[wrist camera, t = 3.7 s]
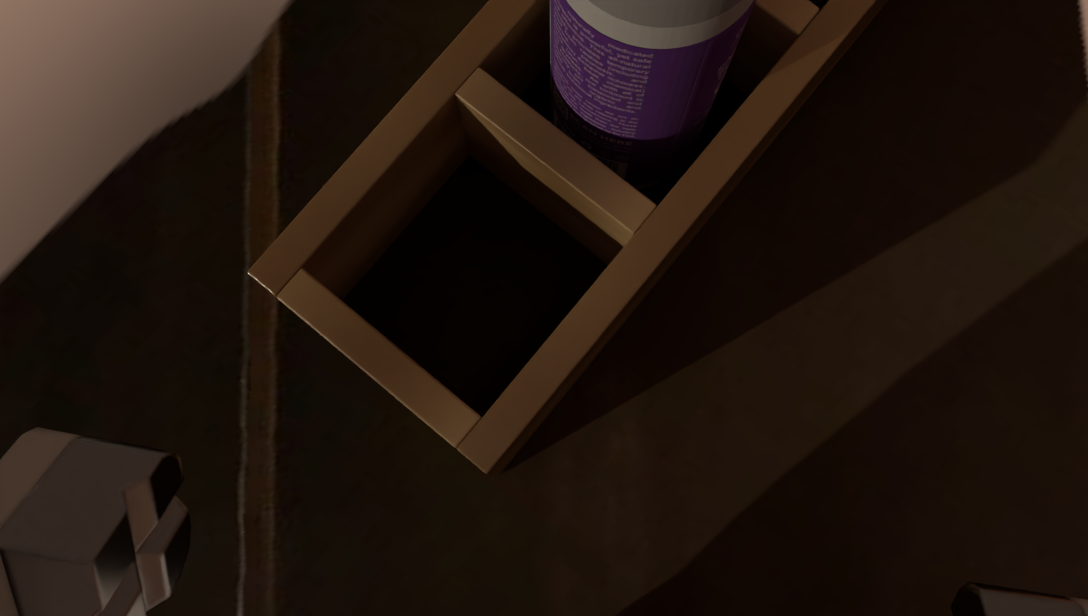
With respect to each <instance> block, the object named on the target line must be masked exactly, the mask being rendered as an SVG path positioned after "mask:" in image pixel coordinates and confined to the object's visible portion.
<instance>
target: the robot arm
mask: <svg viewBox="0 0 1088 616" xmlns="http://www.w3.org/2000/svg"><path fill="white" fill-rule="evenodd" d="M183 481H184V475H183V470H182V465H181V459H180V456H179V455H177V454H175V453H173V452H170V451H165V450H159V449H154V448H149V447H144V446H138V445H133V444H128V443H122V442H117V441H112V440H107V439H101V438H96V437H91V436H86V435H82V436H81V435H75V434H70V433H65V432H60V431H54V430H49V429H44V428H39V427H37V428H34V429H32V430H30V431H28V432H26V433H24V434H23V435H21V436H20V437H19V438H18V440H17V441H16V442H15V443H14V444H13V445H12V446H11V448H10V449H9V450H8V451H7V452H6V453H5V455H4V456H3V457H2V458H1V459H0V616H147V613H146V611H147V610H149V609H151V608H152V607H154V606H156V605H157V604H159V603H160V602H162V601H164V600H165V599H167V598H169V597H170V595H171V593H172V591H173V589H174V587H175V586H176V584H177V582H178V580H179V578H180V576H181V574H182V571H183V567H184V564H185V561H186V558H187V554H188V551H189V547H190V534H191V523H190V515H189V510H188V509H187V508H186V506H185V505H184V504H183V503H182V502H181V501H180V500H179V499H178V498H177V497H176V496H175V494H176V492H177V491H178V489H179V487H180V486H181V484H182V483H183ZM951 610H952V614H953V616H1088V600H1085V599H1079V598H1067V597H1065V596H1060V595H1053V594H1047V593H1040V592H1034V591H1027V590H1021V589H1014V588H1008V587H1001V586H995V585H988V584H982V583H975V582H967V583H966V584H965V585H964V586H962V587H961V588H960V589H959V590H958V592H957V594H956V596H955V598H954V600H953V602H952V604H951Z"/></svg>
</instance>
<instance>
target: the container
mask: <svg viewBox="0 0 1088 616" xmlns="http://www.w3.org/2000/svg"><path fill="white" fill-rule="evenodd" d="M755 1H756V0H550V86H551V123H552V124H553V125H555V126H556V127H557V128H558V129H560V130H561V131H562V132H564V133H565V134H566V135H567V136H569V137H570V138H571V139H573V140H574V141H575V142H576V143H578V144H579V145H580V146H581V147H583V148H584V149H585V150H587V151H588V152H589V153H590V154H592V155H593V156H594V157H596V158H597V159H598V160H599V161H601V162H602V163H603V164H605V165H606V166H607V167H608V168H610V169H611V170H612V171H614V172H615V173H616V174H617V175H619V176H620V177H621V178H623V179H624V180H625V181H626V182H628V183H629V184H630V185H632V186H633V187H634V188H635V189H637V190H638V189H643V188H647V187H651V186H653V185H656V184H658V183H660V182H662V181H664V180H666V179H667V178H669V177H670V176H672V175H673V174H674V173H676V172H677V171H678V170H679V169H680V168H681V167H682V166H683V164H684V163H685V162H686V161H687V159H688V158H689V156H690V155H691V153H692V151H693V149H694V147H695V145H696V143H697V141H698V138H699V136H700V133H701V131H702V128H703V126H704V124H705V121H706V119H707V116H708V114H709V112H710V109H711V107H712V104H713V102H714V100H715V97H716V95H717V92H718V90H719V88H720V85H721V83H722V80H723V78H724V76H725V73H726V71H727V68H728V66H729V64H730V61H731V59H732V56H733V54H734V52H735V49H736V47H737V44H738V42H739V40H740V37H741V35H742V32H743V30H744V28H745V25H746V23H747V20H748V18H749V16H750V13H751V11H752V8H753V6H754V4H755Z"/></svg>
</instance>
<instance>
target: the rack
mask: <svg viewBox="0 0 1088 616" xmlns="http://www.w3.org/2000/svg"><path fill="white" fill-rule="evenodd" d="M887 1H888V0H828V1H827V3H826V4H825V5H824V6H823V7H822V9H821V10H820V11H819V8H818V7H817V6H816V5H814V4H813V3H812V2H810V1H809V0H756V1H755V4H754V6H753V8H752V11H751V13H750V16H749V18H748V20H747V23H746V25H745V28H744V30H743V32H742V35H741V37H740V40H739V42H738V44H737V47H736V49H735V52H734V54H733V56H732V59H731V61H730V64H729V66H728V68H727V71H726V73H725V76H724V78H725V79H726V80H728V81H729V82H730V83H732V84H733V85H734V86H736V87H737V88H738V89H740V90H741V91H742V92H744V93H745V94H746V95H748V96H749V97H748V98H747V99H746V100H745V101H744V103H743V104H742V105H741V106H740V107H739V109H738V110H737V111H736V112H735V113H734V115H733V116H732V117H731V118H730V119H729V121H728V122H727V123H726V124H725V125H724V127H723V128H722V129H721V130H720V131H719V133H718V134H717V135H716V136H715V137H714V139H713V140H712V141H711V142H710V144H709V145H708V146H707V147H706V148H705V150H704V151H703V152H702V153H701V154H700V156H699V157H698V158H697V159H696V160H695V162H694V163H693V164H692V165H691V166H690V168H689V169H688V170H687V171H686V172H685V174H684V175H683V176H682V177H681V178H680V180H679V181H678V182H677V183H676V184H675V186H674V187H673V188H672V189H671V191H670V192H669V193H668V194H667V195H666V197H665V198H664V199H663V200H662V201H661V203H660V204H659V205H658V206H656V204H655V203H653V202H652V201H651V200H650V199H648V198H647V197H646V196H644V195H643V194H642V193H641V192H639V191H638V190H637V189H635V188H634V187H633V186H632V185H630V184H629V183H628V182H626V181H625V180H624V179H623V178H621V177H620V176H619V175H617V174H616V173H615V172H614V171H612V170H611V169H610V168H608V167H607V166H606V165H605V164H603V163H602V162H601V161H599V160H598V159H597V158H596V157H594V156H593V155H592V154H590V153H589V152H588V151H587V150H585V149H584V148H583V147H581V146H580V145H579V144H578V143H576V142H575V141H574V140H573V139H571V138H570V137H569V136H567V135H566V134H565V133H564V132H562V131H561V130H560V129H558V128H557V127H556V126H555V125H553V124H552V123H551V122H549V121H548V120H547V119H546V118H544V117H543V116H542V115H540V114H539V113H538V112H537V111H535V110H534V109H533V108H531V107H530V106H529V105H528V104H526V103H525V102H524V101H522V100H521V99H520V98H519V97H520V96H521V95H522V94H523V93H524V92H525V91H526V89H527V88H528V87H529V86H530V85H531V84H532V83H533V81H534V80H535V79H536V78H537V77H538V76H539V75H540V73H541V72H542V71H543V70H544V69H545V68H546V66H547V65H548V64H549V63H550V0H489V1H488V2H487V3H486V5H485V6H484V7H483V8H482V9H481V10H480V11H479V12H478V14H477V15H476V16H475V17H474V18H473V19H472V20H471V21H470V23H469V24H468V25H467V26H466V27H465V28H464V29H463V30H462V32H461V33H460V34H459V35H458V36H457V37H456V38H455V39H454V40H453V42H452V43H451V44H450V45H449V46H448V47H447V48H446V49H445V51H444V52H443V53H442V54H441V55H440V56H439V57H438V58H437V60H436V61H435V62H434V63H433V64H432V65H431V66H430V67H429V69H428V70H427V71H426V72H425V73H424V74H423V75H422V76H421V77H420V79H419V80H418V81H417V82H416V83H415V84H414V85H413V86H412V88H411V89H410V90H409V91H408V92H407V93H406V94H405V95H404V97H403V98H402V99H401V100H400V101H399V102H398V103H397V104H396V106H395V107H394V108H393V109H392V110H391V111H390V112H389V113H388V114H387V116H386V117H385V118H384V119H383V120H382V121H381V122H380V123H379V125H378V126H377V127H376V128H375V129H374V130H373V131H372V132H371V134H370V135H369V136H368V137H367V138H366V139H365V140H364V141H363V143H362V144H361V145H360V146H359V147H358V148H357V149H356V150H355V151H354V153H353V154H352V155H351V156H350V157H349V158H348V159H347V160H346V162H345V163H344V164H343V165H342V166H341V167H340V168H339V169H338V171H337V172H336V173H335V174H334V175H333V176H332V177H331V178H330V179H329V181H328V182H327V183H326V184H325V185H324V186H323V187H322V188H321V190H320V191H319V192H318V193H317V194H316V195H315V196H314V197H313V199H312V200H311V201H310V202H309V203H308V204H307V205H306V206H305V208H304V209H303V210H302V211H301V212H300V213H299V214H298V215H297V216H296V218H295V219H294V220H293V221H292V222H291V223H290V224H289V225H288V227H287V228H286V229H285V230H284V231H283V232H282V233H281V234H280V236H279V237H278V238H277V239H276V240H275V241H274V242H273V243H272V245H271V246H270V247H269V248H268V249H267V250H266V251H265V252H264V253H263V255H262V256H261V257H260V258H259V259H258V260H257V261H256V262H255V264H254V265H253V266H252V267H251V268H250V269H249V270H248V274H249V275H250V276H251V277H252V278H253V279H255V280H256V281H257V282H258V283H259V284H261V285H262V286H263V287H264V288H265V289H267V290H268V291H269V292H270V293H271V294H272V295H274V296H275V297H277V298H278V300H280V301H281V302H282V303H283V304H284V305H286V306H287V307H288V308H289V309H290V310H292V311H293V312H294V313H295V314H296V315H297V316H299V317H300V318H301V319H302V320H303V321H305V322H306V323H307V324H308V325H309V326H311V327H312V328H313V329H314V330H315V331H316V332H318V333H319V334H320V335H321V336H322V337H324V338H325V339H326V340H327V341H328V342H330V343H331V344H332V345H333V346H334V347H336V348H337V349H338V350H339V351H340V352H341V353H343V354H344V355H345V356H346V357H347V358H349V359H350V360H351V361H352V362H353V363H355V364H356V365H357V366H358V367H359V368H361V369H362V370H363V371H364V372H365V373H366V374H368V375H369V376H370V377H371V378H372V379H374V380H375V381H376V382H377V383H378V384H380V385H381V386H382V387H383V388H384V389H385V390H387V391H388V392H389V393H390V394H391V395H393V396H394V397H395V398H396V399H397V400H399V401H400V402H401V403H402V404H403V405H405V406H406V407H407V408H408V409H409V410H410V411H412V412H413V413H414V414H415V415H416V416H418V417H419V418H420V419H421V420H422V421H424V422H425V423H426V424H427V425H428V426H429V427H431V428H432V429H433V430H434V431H435V432H437V433H438V434H439V435H440V436H441V437H443V438H444V439H445V440H446V441H447V442H449V443H450V444H451V445H452V446H453V447H455V448H457V449H458V451H459V452H460V453H462V454H463V455H464V456H465V457H466V458H468V459H469V460H470V461H471V462H472V463H473V464H475V465H476V466H477V467H478V468H479V469H481V470H482V471H483V472H484V473H486V474H489V475H493V476H497V477H498V476H499V475H500V474H501V473H502V472H503V470H504V469H505V468H506V467H507V466H508V464H509V463H510V462H511V461H512V459H513V458H514V457H515V456H516V455H517V453H518V452H519V451H520V450H521V448H522V447H523V446H524V445H525V444H526V442H527V441H528V440H529V439H530V437H531V436H532V435H533V434H534V433H535V431H536V430H537V429H538V428H539V426H540V425H541V424H542V423H543V422H544V420H545V419H546V418H547V417H548V415H549V414H550V413H551V412H552V411H553V409H554V408H555V407H556V406H557V404H558V403H559V402H560V401H561V400H562V398H563V397H564V396H565V395H566V393H567V392H568V391H569V390H570V389H571V387H572V386H573V385H574V384H575V382H576V381H577V380H578V379H579V378H580V376H581V375H582V374H583V373H584V371H585V370H586V369H587V368H588V367H589V365H590V364H591V363H592V362H593V360H594V359H595V358H596V357H597V356H598V354H599V353H600V352H601V351H602V349H603V348H604V347H605V346H606V345H607V343H608V342H609V341H610V340H611V339H612V337H613V336H614V335H615V334H616V332H617V331H618V330H619V329H620V328H621V326H622V325H623V324H624V323H625V321H626V320H627V319H628V318H629V317H630V315H631V314H632V313H633V312H634V310H635V309H636V308H637V307H638V306H639V304H640V303H641V302H642V301H643V299H644V298H645V297H646V296H647V295H648V293H649V292H650V291H651V290H652V288H653V287H654V286H655V285H656V284H657V282H658V281H659V280H660V279H661V277H662V276H663V275H664V274H665V273H666V271H667V270H668V269H669V268H670V266H671V265H672V264H673V263H674V262H675V260H676V259H677V258H678V257H679V255H680V254H681V253H682V252H683V251H684V249H685V248H686V247H687V246H688V244H689V243H690V242H691V241H692V240H693V238H694V237H695V236H696V235H697V233H698V232H699V231H700V230H701V229H702V227H703V226H704V225H705V224H706V222H707V221H708V220H709V219H710V218H711V216H712V215H713V214H714V213H715V211H716V210H717V209H718V208H719V207H720V205H721V204H722V203H723V202H724V201H725V199H726V198H727V197H728V196H729V194H730V193H731V192H732V191H733V190H734V188H735V187H736V186H737V185H738V183H739V182H740V181H741V180H742V179H743V177H744V176H745V175H746V174H747V172H748V171H749V170H750V169H751V168H752V166H753V165H754V164H755V163H756V161H757V160H758V159H759V158H760V157H761V155H762V154H763V153H764V152H765V150H766V149H767V148H768V147H769V146H770V144H771V143H772V142H773V141H774V139H775V138H776V137H777V136H778V135H779V133H780V132H781V131H782V130H783V128H784V127H785V126H786V125H787V124H788V122H789V121H790V120H791V119H792V117H793V116H794V115H795V114H796V113H797V111H798V110H799V109H800V108H801V106H802V105H803V104H804V103H805V102H806V100H807V99H808V98H809V97H810V95H811V94H812V93H813V92H814V91H815V89H816V88H817V87H818V86H819V84H820V83H821V82H822V81H823V80H824V78H825V77H826V76H827V75H828V73H829V72H830V71H831V70H832V69H833V67H834V66H835V65H836V64H837V63H838V61H839V60H840V59H841V58H842V56H843V55H844V54H845V53H846V52H847V50H848V49H849V48H850V47H851V45H852V44H853V43H854V42H855V41H856V39H857V38H858V37H859V36H860V34H861V33H862V32H863V31H864V30H865V28H866V27H867V26H868V25H869V23H870V22H871V21H872V20H873V19H874V17H875V16H876V15H877V14H878V12H879V11H880V10H881V9H882V8H883V6H884V5H885V4H886V3H887ZM469 155H470V156H471V157H472V158H473V159H475V160H476V161H477V162H478V163H480V164H481V165H482V166H483V167H485V168H486V169H487V170H488V171H490V172H491V173H492V174H494V175H495V176H496V177H497V178H499V179H500V180H501V181H502V182H504V183H505V184H506V185H507V186H509V187H510V188H511V189H512V190H514V191H515V192H516V193H517V194H519V195H520V196H521V197H522V198H524V199H525V200H526V201H528V202H529V203H530V204H531V205H533V206H534V207H535V208H536V209H538V210H539V211H540V212H541V213H543V214H544V215H545V216H546V217H548V218H549V219H550V220H551V221H553V222H554V223H555V224H557V225H558V226H559V227H560V228H562V229H563V230H564V231H565V232H567V233H568V234H569V235H570V236H572V237H573V238H574V239H575V240H577V241H578V242H579V243H580V244H582V245H583V246H584V247H585V248H587V249H588V250H589V251H591V252H592V253H593V254H594V255H596V256H597V257H598V258H599V259H601V260H602V261H603V262H604V263H606V264H607V265H608V266H607V268H606V269H605V270H604V271H603V272H602V274H601V275H600V276H599V277H598V278H597V280H596V281H595V282H594V283H593V284H592V286H591V287H590V288H589V289H588V291H587V292H586V293H585V294H584V295H583V297H582V298H581V299H580V300H579V301H578V303H577V304H576V305H575V306H574V307H573V309H572V310H571V311H570V312H569V313H568V315H567V316H566V317H565V318H564V319H563V321H562V322H561V323H560V324H559V325H558V327H557V328H556V329H555V330H554V331H553V333H552V334H551V335H550V336H549V338H548V339H547V340H546V341H545V342H544V344H543V345H542V346H541V347H540V348H539V350H538V351H537V352H536V353H535V354H534V356H533V357H532V358H531V359H530V360H529V362H528V363H527V364H526V365H525V366H524V368H523V369H522V370H521V371H520V372H519V374H518V375H517V376H516V377H515V378H514V380H513V381H512V382H511V383H510V385H509V386H508V387H507V388H506V389H505V391H504V392H503V393H502V394H501V395H500V397H499V398H498V399H497V400H496V401H495V403H494V404H493V405H492V406H491V407H490V409H489V410H488V411H487V412H486V413H485V415H484V416H483V417H481V416H480V415H479V414H478V413H476V412H475V411H474V410H473V409H472V408H470V407H469V406H468V405H467V404H466V403H464V402H463V401H462V400H461V399H460V398H458V397H457V396H456V395H455V394H454V393H452V392H451V391H450V390H449V389H448V388H446V387H445V386H444V385H443V384H442V383H440V382H439V381H438V380H437V379H436V378H434V377H433V376H432V375H431V374H430V373H428V372H427V371H426V370H425V369H424V368H422V367H421V366H420V365H419V364H418V363H416V362H415V361H414V360H413V359H412V358H410V357H409V356H408V355H407V354H406V353H404V352H403V351H402V350H401V349H399V348H398V347H397V346H396V345H395V344H393V343H392V342H391V341H390V340H389V339H387V338H386V337H385V336H384V335H383V334H381V333H380V332H379V331H378V330H377V329H375V328H374V327H373V326H372V325H371V324H369V323H368V322H367V321H366V320H365V319H363V318H362V317H361V316H360V315H359V314H357V313H356V312H355V311H354V310H353V309H351V308H350V307H349V306H348V305H347V304H345V303H344V302H343V300H344V298H345V297H346V296H347V295H348V294H349V293H350V292H351V290H352V289H353V288H354V287H355V286H356V285H357V283H358V282H359V281H360V280H361V279H362V278H363V277H364V275H365V274H366V273H367V272H368V271H369V270H370V269H371V267H372V266H373V265H374V264H375V263H376V262H377V261H378V259H379V258H380V257H381V256H382V255H383V254H384V252H385V251H386V250H387V249H388V248H389V247H390V246H391V244H392V243H393V242H394V241H395V240H396V239H397V238H398V236H399V235H400V234H401V233H402V232H403V231H404V230H405V228H406V227H407V226H408V225H409V224H410V223H411V221H412V220H413V219H414V218H415V217H416V216H417V215H418V213H419V212H420V211H421V210H422V209H423V208H424V207H425V205H426V204H427V203H428V202H429V201H430V200H431V199H432V197H433V196H434V195H435V194H436V193H437V192H438V190H439V189H440V188H441V187H442V186H443V185H444V184H445V182H446V181H447V180H448V179H449V178H450V177H451V176H452V174H453V173H454V172H455V171H456V170H457V169H458V168H459V166H460V165H461V164H462V163H463V162H464V161H465V159H466V158H467V157H468V156H469Z"/></svg>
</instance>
